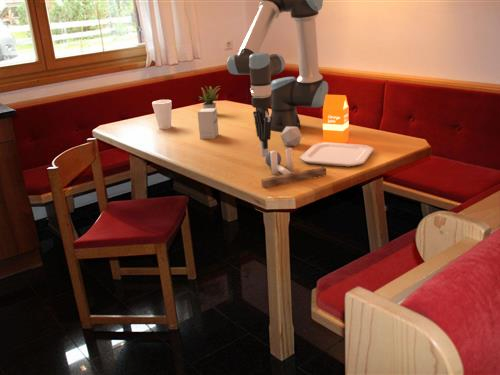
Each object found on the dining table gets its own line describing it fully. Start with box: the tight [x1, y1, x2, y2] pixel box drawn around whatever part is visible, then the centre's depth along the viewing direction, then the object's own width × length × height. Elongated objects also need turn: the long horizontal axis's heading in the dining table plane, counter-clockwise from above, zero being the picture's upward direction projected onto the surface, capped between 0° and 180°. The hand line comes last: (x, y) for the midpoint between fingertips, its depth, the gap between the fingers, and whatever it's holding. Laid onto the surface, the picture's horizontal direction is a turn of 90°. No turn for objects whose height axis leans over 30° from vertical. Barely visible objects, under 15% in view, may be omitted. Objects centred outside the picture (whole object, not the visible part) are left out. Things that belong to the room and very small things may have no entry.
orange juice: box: [322, 94, 350, 144], centre depth 219 cm, size 8×9×20 cm
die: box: [280, 127, 303, 147], centre depth 221 cm, size 8×9×10 cm
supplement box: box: [197, 107, 219, 140], centre depth 240 cm, size 7×7×13 cm
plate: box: [299, 142, 375, 168], centre depth 204 cm, size 25×25×2 cm
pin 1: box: [270, 150, 279, 176], centre depth 188 cm, size 2×2×8 cm
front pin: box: [278, 164, 292, 175], centre depth 189 cm, size 2×2×8 cm
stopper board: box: [260, 166, 327, 188], centre depth 182 cm, size 24×2×2 cm, turn 112°
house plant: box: [198, 85, 221, 109], centre depth 280 cm, size 14×14×16 cm
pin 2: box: [285, 147, 294, 173], centre depth 190 cm, size 2×2×8 cm
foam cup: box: [151, 99, 173, 130], centre depth 262 cm, size 10×9×13 cm
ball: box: [265, 151, 282, 168], centre depth 196 cm, size 6×6×6 cm
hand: (264, 155), depth 204 cm, fingers closed
